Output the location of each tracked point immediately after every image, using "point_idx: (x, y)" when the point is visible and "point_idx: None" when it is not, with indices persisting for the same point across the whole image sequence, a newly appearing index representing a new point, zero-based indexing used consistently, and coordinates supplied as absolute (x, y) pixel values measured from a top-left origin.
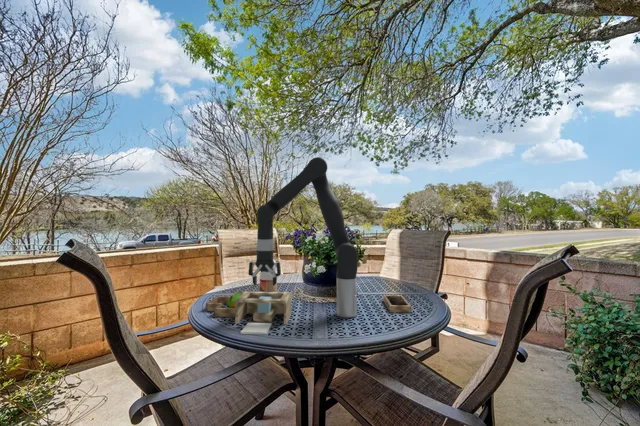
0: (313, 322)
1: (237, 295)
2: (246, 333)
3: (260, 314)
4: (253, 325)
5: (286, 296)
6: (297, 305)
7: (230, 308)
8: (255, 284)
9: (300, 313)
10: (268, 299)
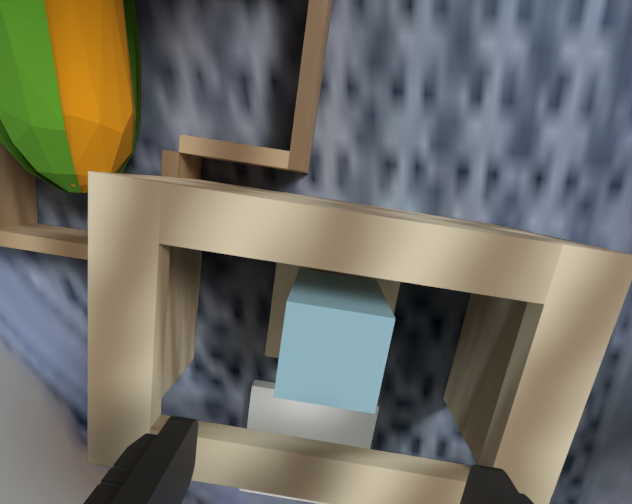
0: (612, 389)
1: (25, 80)
2: None
3: None
4: (285, 426)
5: (555, 415)
6: (577, 27)
7: (81, 247)
8: (187, 484)
9: (566, 230)
10: (376, 486)
